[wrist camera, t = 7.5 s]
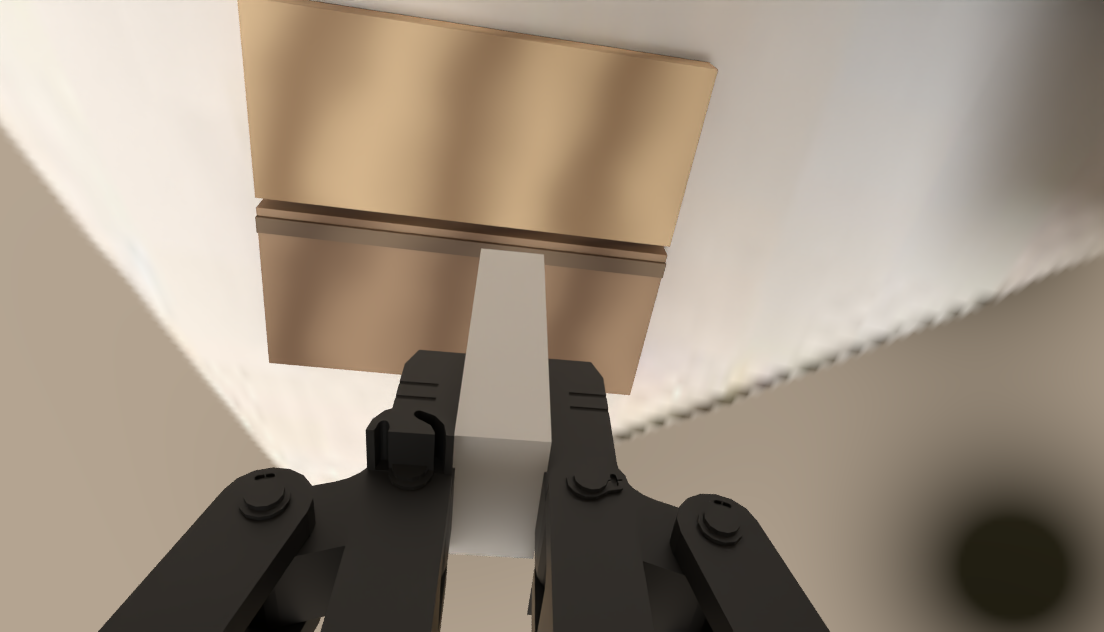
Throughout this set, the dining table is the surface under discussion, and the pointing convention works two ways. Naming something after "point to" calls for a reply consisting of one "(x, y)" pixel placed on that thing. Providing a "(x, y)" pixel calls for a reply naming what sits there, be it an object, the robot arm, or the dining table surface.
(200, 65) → the dining table surface
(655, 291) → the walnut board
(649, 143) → the oak plank
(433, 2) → the dining table surface
